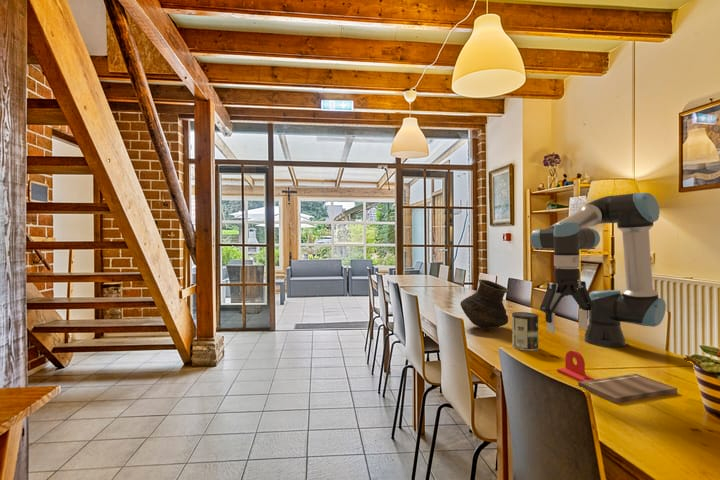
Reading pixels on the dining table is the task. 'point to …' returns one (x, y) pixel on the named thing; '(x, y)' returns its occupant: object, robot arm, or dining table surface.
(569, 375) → the bracket
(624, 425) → the dining table surface
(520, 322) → the coffee can
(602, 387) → the walnut board
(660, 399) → the dining table surface
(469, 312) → the ceramic pot
